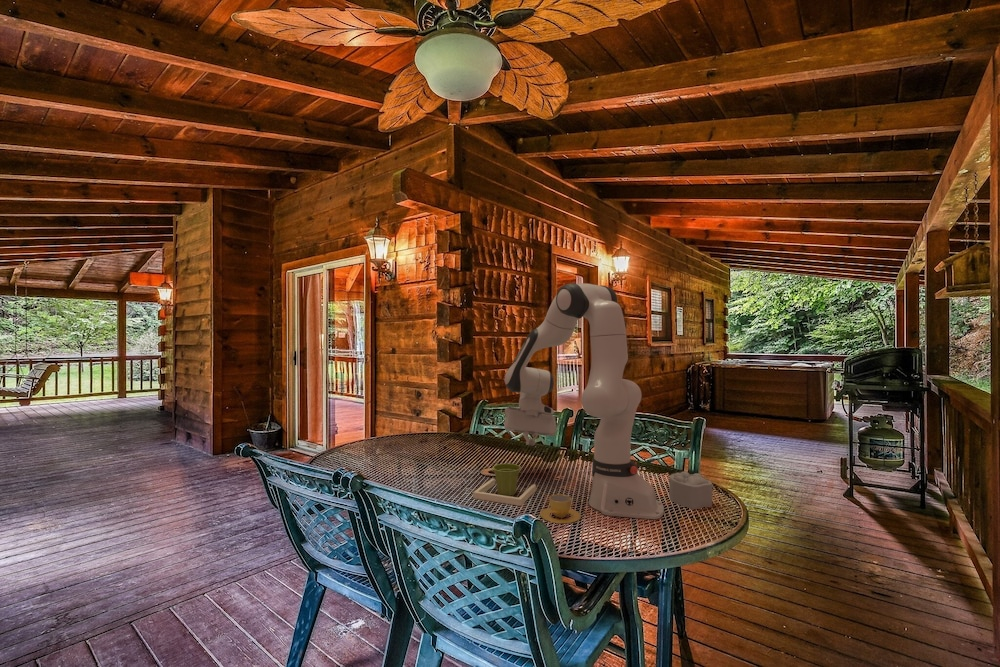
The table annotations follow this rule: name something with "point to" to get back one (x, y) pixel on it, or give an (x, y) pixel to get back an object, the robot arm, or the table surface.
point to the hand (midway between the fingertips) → (530, 444)
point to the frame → (501, 498)
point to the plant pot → (506, 478)
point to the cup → (560, 509)
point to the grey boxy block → (690, 490)
